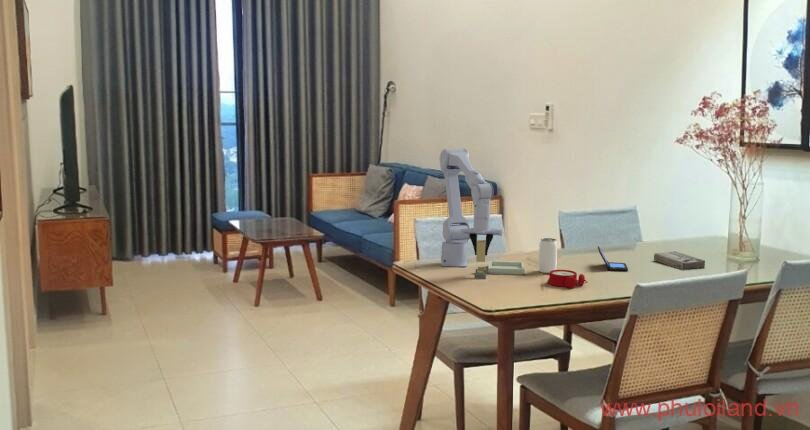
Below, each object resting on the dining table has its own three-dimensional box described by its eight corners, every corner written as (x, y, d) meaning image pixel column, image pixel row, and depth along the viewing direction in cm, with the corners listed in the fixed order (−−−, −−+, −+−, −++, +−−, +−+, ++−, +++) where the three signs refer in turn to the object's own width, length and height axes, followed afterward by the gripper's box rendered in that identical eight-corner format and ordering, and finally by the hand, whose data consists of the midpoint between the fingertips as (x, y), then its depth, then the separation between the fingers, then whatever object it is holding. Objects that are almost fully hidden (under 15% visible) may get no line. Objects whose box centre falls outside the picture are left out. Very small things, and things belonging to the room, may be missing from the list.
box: (674, 258, 311) (674, 250, 310) (705, 268, 295) (706, 260, 294) (652, 260, 307) (652, 253, 306) (682, 271, 291) (683, 262, 291)
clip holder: (474, 278, 275) (474, 271, 275) (475, 272, 284) (475, 266, 283) (485, 278, 275) (485, 271, 274) (486, 273, 283) (486, 266, 283)
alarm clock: (557, 268, 276) (592, 266, 264) (560, 286, 276) (595, 284, 264) (538, 272, 269) (573, 270, 258) (541, 290, 269) (576, 289, 257)
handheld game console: (628, 272, 287) (629, 252, 286) (598, 271, 289) (599, 251, 288) (625, 265, 299) (626, 246, 298) (596, 264, 301) (597, 245, 300)
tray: (488, 273, 283) (488, 268, 282) (489, 265, 296) (489, 260, 295) (524, 274, 281) (524, 269, 281) (523, 267, 294) (524, 262, 293)
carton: (476, 261, 276) (476, 241, 275) (477, 258, 281) (477, 239, 280) (484, 262, 276) (485, 242, 275) (485, 259, 281) (485, 239, 280)
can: (557, 270, 289) (558, 238, 287) (554, 274, 283) (556, 241, 281) (540, 269, 291) (541, 237, 289) (537, 272, 285) (538, 240, 283)
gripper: (460, 218, 273) (459, 256, 275) (502, 219, 271) (501, 257, 273) (462, 215, 280) (461, 252, 282) (502, 216, 278) (501, 253, 280)
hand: (481, 254), depth 278 cm, fingers closed on carton, 3 cm apart
